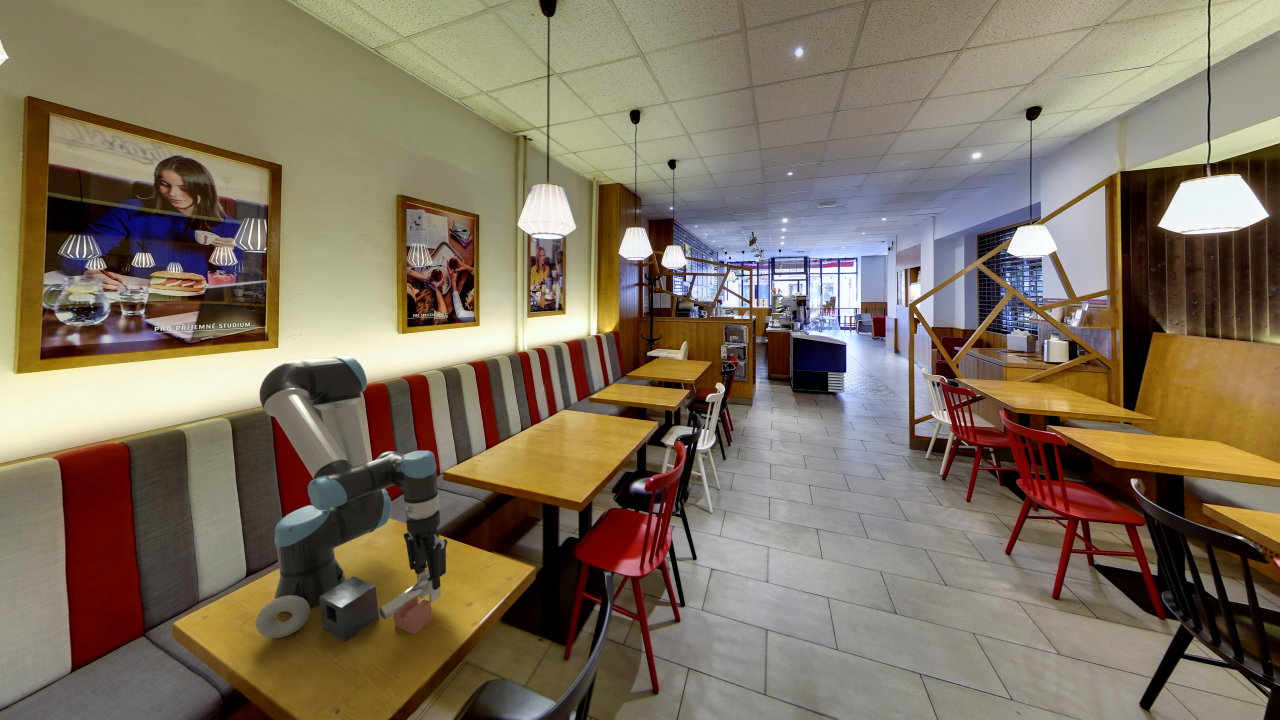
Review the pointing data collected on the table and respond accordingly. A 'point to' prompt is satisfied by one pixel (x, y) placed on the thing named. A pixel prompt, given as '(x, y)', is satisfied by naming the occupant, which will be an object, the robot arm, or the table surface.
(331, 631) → the block with square hole
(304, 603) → the donut
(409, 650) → the table surface
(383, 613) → the axle
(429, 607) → the v block
